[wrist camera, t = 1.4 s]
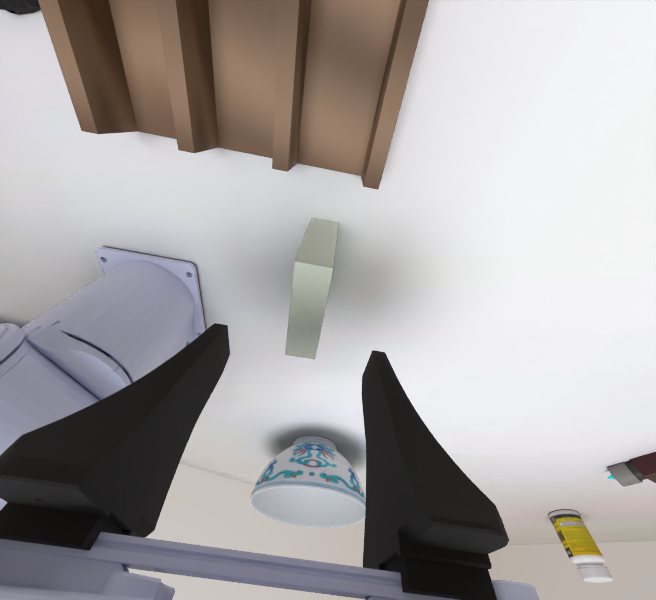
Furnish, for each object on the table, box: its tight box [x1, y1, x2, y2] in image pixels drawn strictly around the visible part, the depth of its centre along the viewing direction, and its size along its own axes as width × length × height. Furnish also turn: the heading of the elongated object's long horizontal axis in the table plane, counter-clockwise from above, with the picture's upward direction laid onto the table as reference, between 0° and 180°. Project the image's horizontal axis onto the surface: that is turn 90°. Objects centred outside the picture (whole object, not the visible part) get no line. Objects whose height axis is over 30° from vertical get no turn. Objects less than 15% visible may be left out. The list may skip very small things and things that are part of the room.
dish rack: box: [38, 0, 429, 189], centre depth 11 cm, size 12×15×4 cm
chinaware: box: [250, 436, 366, 528], centre depth 36 cm, size 15×15×8 cm
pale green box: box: [285, 218, 338, 359], centre depth 18 cm, size 7×2×7 cm, turn 170°
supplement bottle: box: [549, 510, 613, 582], centre depth 44 cm, size 5×5×8 cm
